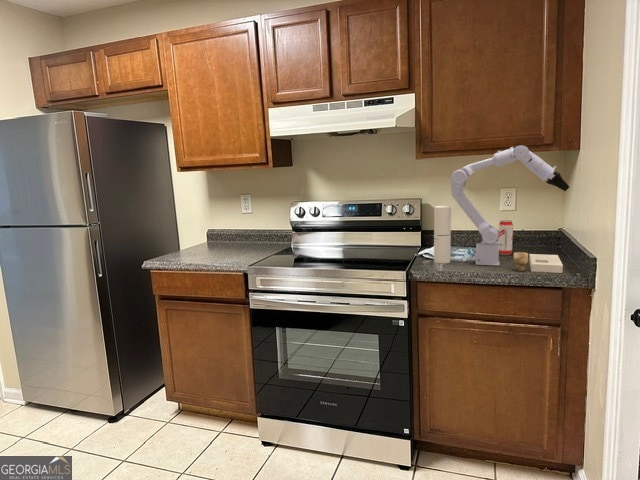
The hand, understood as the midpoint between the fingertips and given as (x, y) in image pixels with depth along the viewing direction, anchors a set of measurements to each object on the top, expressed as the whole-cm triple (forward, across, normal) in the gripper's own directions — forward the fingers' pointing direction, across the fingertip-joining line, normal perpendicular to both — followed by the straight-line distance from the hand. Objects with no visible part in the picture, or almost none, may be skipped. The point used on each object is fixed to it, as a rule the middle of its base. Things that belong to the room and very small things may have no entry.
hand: (566, 188), depth 172 cm
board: (+16, 0, +28) cm, 33 cm away
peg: (+9, -9, +35) cm, 37 cm away
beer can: (+5, +22, +39) cm, 45 cm away
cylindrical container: (-15, -1, +56) cm, 58 cm away
